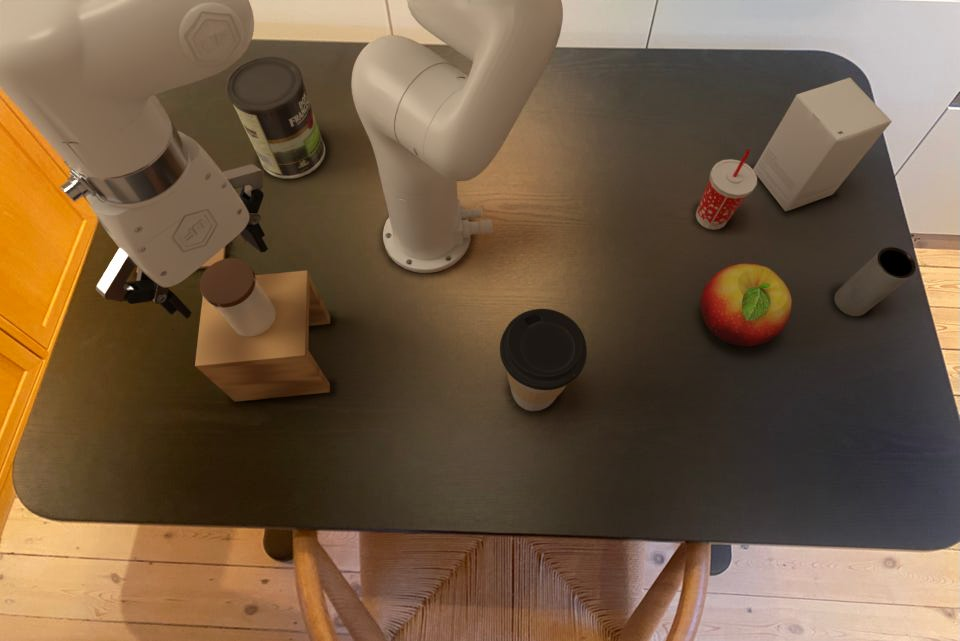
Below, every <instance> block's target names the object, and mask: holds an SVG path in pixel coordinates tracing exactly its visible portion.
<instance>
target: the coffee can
mask: <svg viewBox="0 0 960 641" xmlns="http://www.w3.org/2000/svg"><path fill="white" fill-rule="evenodd" d="M225 92H226V95H227V97H228V99H229V101H230V102H231V104H232V105H233V107H234V109H235V111H236V114H237V116H238V118H239V120H240V122H241V125H242V126H243V128H244V130H245V132H246V135H247V136H248V139H249V141H250V143H251V145H252V146H253V149H254V151H255V153H256V155H257V157H258V160H259V162H260V165H261V167H262V168H263V170H264V171H266V172H267V173H268V174H269V175H271V176H273V177H276V178H278V179H284V180H286V179H287V180H291V179H298V178H302V177H304V176H307V175H309V174H311V173H313V171H315V170H316V169H318V168H319V166H320V165H321V164H322V163H323V161H324V158H325V156H326V146H325V143H324V140H323V138H322V135H321V132H320V128H319V125H318V122H317V120H316V116H315V114H314V112H313V107H312V104H311V101H310V98H309V95H308V92H307V89H306V86H305V83H304V79H303V74H302V72H301V70H300V68H299V66H298V65H297V64H295V63H294V62H293V61H291V60H289V59H287V58H284V57H280V56H261V57H260V56H259V57H257V58H253V59H250V60H247V61H245V62H244V63H242V64H240V65H239V66H238V67H236V68H235V69H234V70H233V71H232V72H231V73H230V75H229V76H228V78H227V80H226V84H225Z"/></svg>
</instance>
